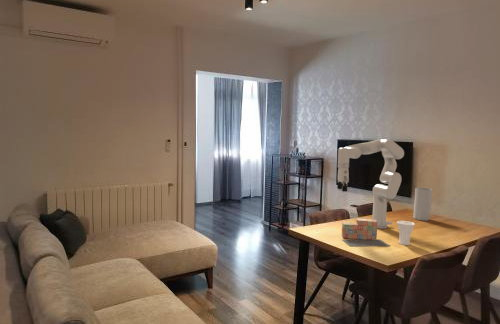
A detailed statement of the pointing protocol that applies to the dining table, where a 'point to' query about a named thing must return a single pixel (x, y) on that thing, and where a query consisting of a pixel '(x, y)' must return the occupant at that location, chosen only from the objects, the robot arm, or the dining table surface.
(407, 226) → the cup
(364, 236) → the stack of blocks
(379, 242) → the rubber mat
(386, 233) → the dining table surface
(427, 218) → the cylinder vase
